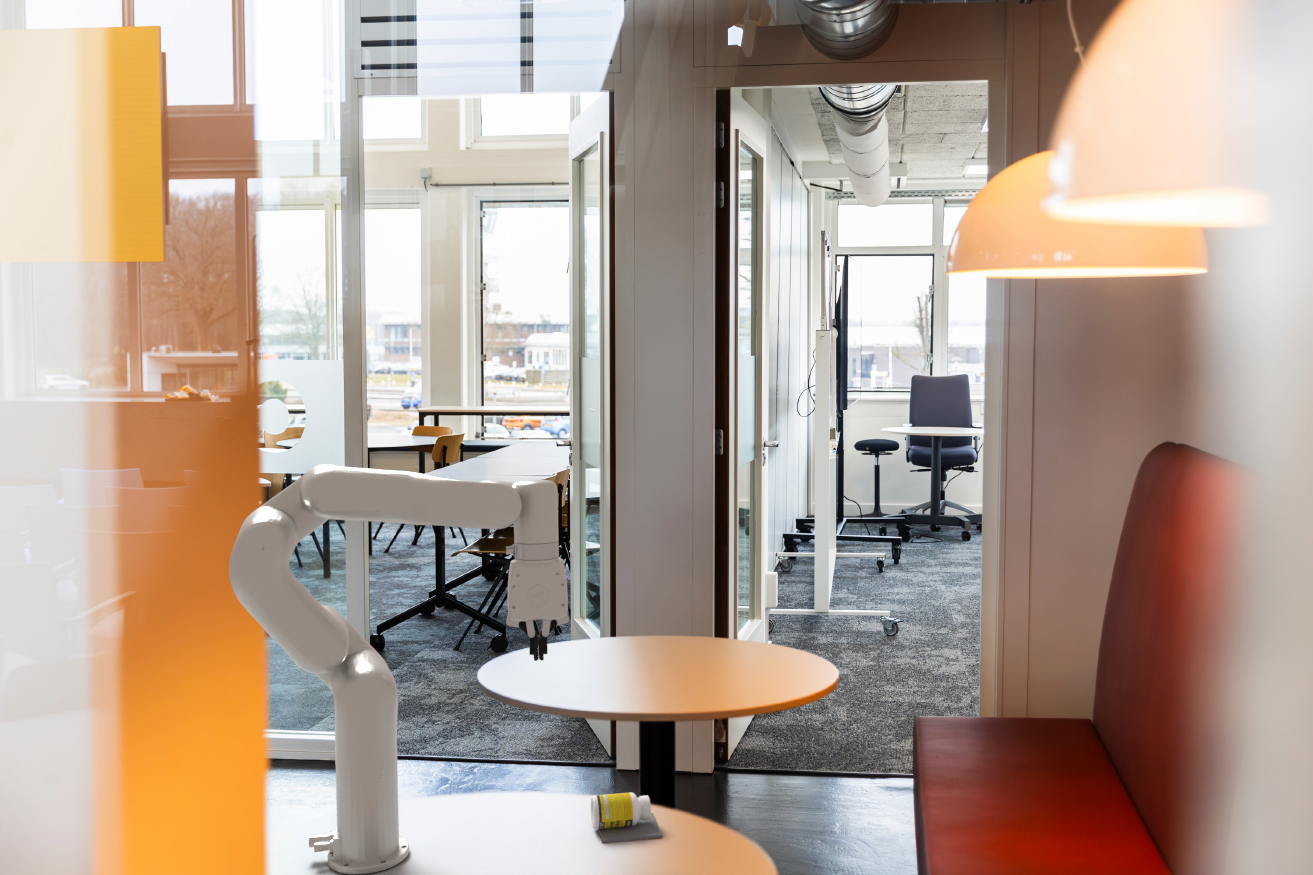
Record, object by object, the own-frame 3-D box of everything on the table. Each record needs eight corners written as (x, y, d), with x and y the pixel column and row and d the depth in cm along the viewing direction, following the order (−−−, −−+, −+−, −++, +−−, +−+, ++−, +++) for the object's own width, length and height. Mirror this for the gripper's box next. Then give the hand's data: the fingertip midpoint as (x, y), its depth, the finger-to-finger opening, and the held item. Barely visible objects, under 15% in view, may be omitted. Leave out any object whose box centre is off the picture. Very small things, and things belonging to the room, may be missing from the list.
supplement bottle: (595, 828, 159) (653, 822, 161) (592, 793, 162) (649, 788, 164) (591, 831, 164) (648, 825, 166) (589, 797, 166) (644, 792, 168)
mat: (602, 842, 158) (602, 839, 158) (596, 820, 167) (596, 817, 167) (661, 837, 160) (661, 834, 160) (652, 815, 169) (652, 812, 169)
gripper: (492, 556, 159) (494, 666, 160) (582, 553, 162) (584, 661, 162) (492, 550, 167) (494, 655, 167) (578, 547, 169) (580, 651, 170)
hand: (538, 658), depth 165 cm, fingers closed
